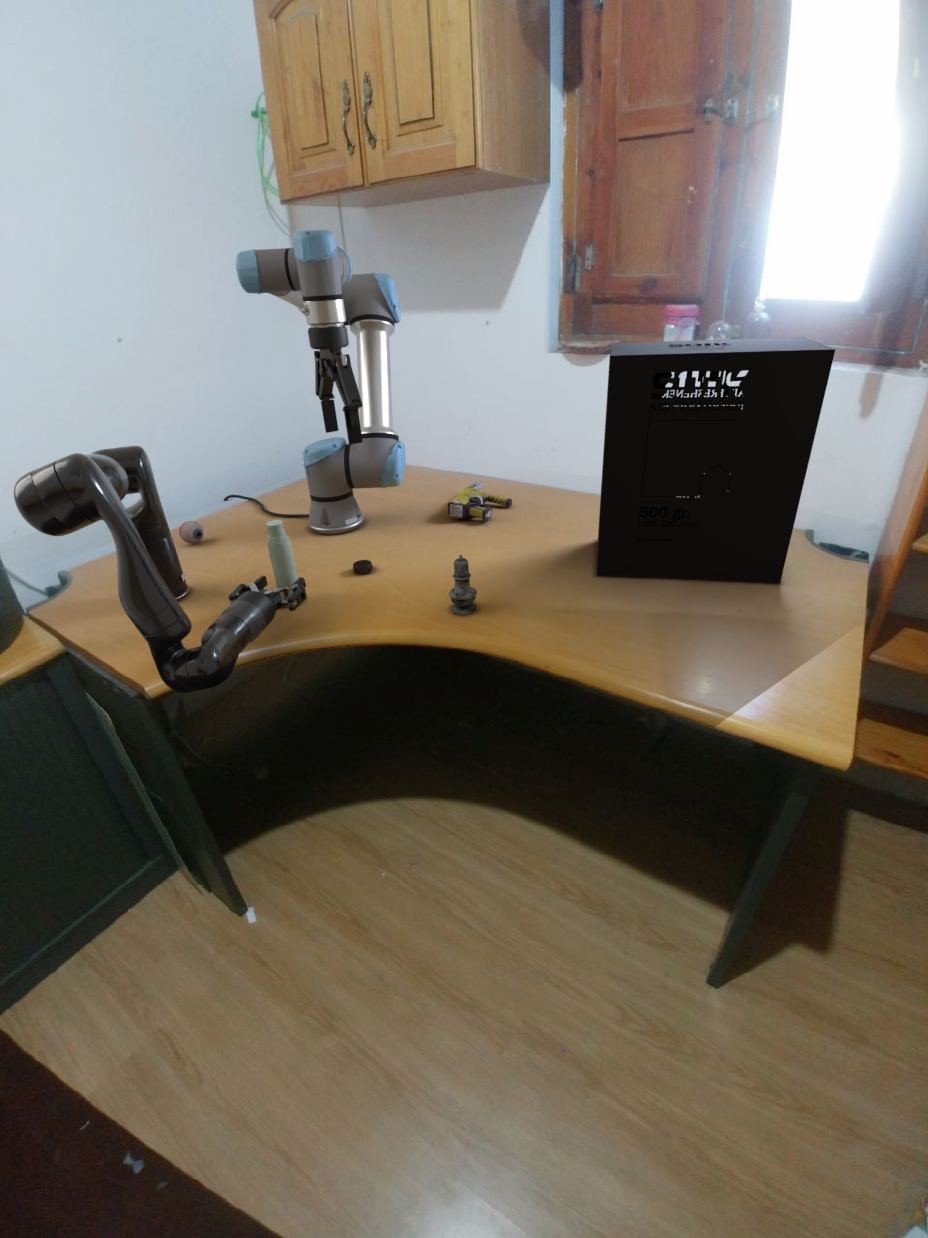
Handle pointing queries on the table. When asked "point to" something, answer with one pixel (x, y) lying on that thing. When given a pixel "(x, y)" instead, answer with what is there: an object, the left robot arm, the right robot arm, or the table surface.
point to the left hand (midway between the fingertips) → (283, 580)
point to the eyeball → (191, 532)
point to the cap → (362, 567)
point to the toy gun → (474, 503)
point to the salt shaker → (462, 588)
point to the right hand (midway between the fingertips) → (343, 437)
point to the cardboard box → (707, 456)
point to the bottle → (281, 555)
